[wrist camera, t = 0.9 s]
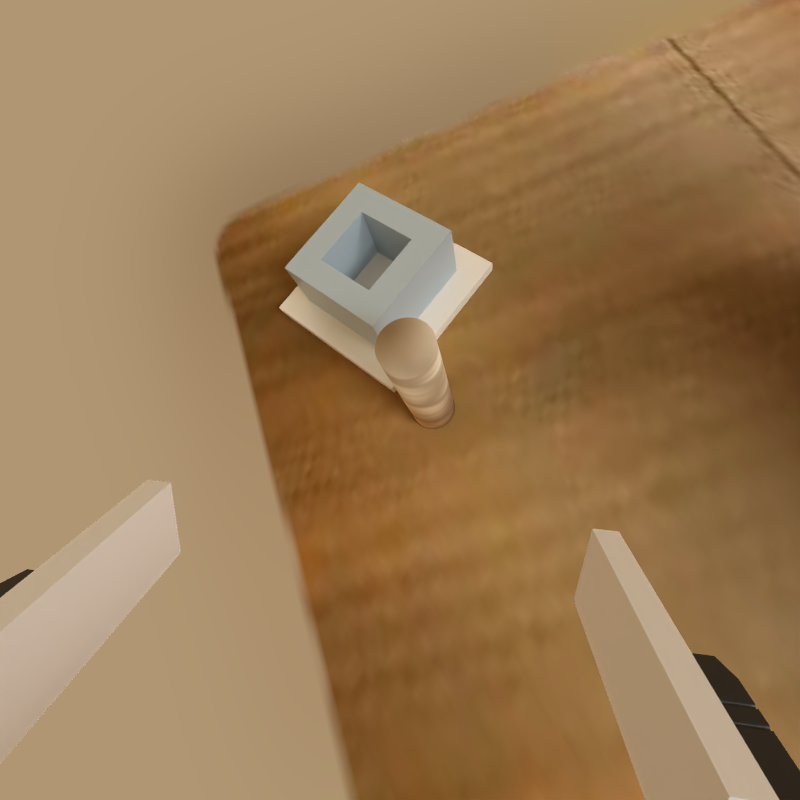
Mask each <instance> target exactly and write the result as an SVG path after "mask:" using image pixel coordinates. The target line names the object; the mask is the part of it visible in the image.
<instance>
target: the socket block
mask: <svg viewBox="0 0 800 800" xmlns="http://www.w3.org/2000/svg"><path fill="white" fill-rule="evenodd" d="M285 269H286V270H287V272H288V273H289V274H290V276H291V277H292V278H293V280H294V281H295V282H296V284H297V285H298V286H297V287H296V288H295V289H294V291H293V292H292V293H291V294H290V295H289V296H288V298H287V299H286V300H285V301H284V302H283V303H282V304H281V306H280V307H279V308H280V309H281V311H282V312H283V313H284V314H286V315H287V316H289V317H290V318H291V319H293V320H294V321H295V322H297V323H298V324H300V325H301V326H302V327H304V328H305V329H307V330H308V331H309V332H311V333H312V334H313V335H315V336H316V337H318V338H319V339H320V340H322V341H323V342H325V343H326V344H327V345H329V346H330V347H331V348H333V349H334V350H336V351H337V352H338V353H340V354H341V355H343V356H344V357H345V358H347V359H348V360H350V361H351V362H352V363H354V364H355V365H356V366H358V367H359V368H361V369H362V370H363V371H365V372H366V373H368V374H369V375H370V376H372V377H373V378H374V379H376V380H377V381H379V382H380V383H381V384H383V385H384V386H386V387H387V388H388V389H390V390H391V391H392V392H394V393H395V392H396V391H397V390H396V388H395V387H394V385H393V384H392V382H391V381H390V379H389V378H388V376H387V374H386V373H385V371H384V370H383V368H382V367H381V365H380V364H379V362H378V360H377V358H376V354H375V343H376V340H377V337H378V335H379V333H380V332H381V331H382V329H383V328H384V327H385V326H386V325H388V324H389V323H391V322H392V321H394V320H397V319H400V318H406V317H411V318H417V319H420V320H422V321H424V322H425V323H427V324H428V325H429V326H430V327H431V328H432V330H433V331H434V333H435V336H436V340H437V339H438V338H439V337H440V335H441V334H442V333H443V332H444V330H445V329H446V328H447V327H448V325H449V324H450V323H451V322H452V320H453V319H454V318H455V317H456V315H457V314H458V313H459V312H460V310H461V309H462V308H463V307H464V305H465V304H466V303H467V302H468V300H469V299H470V298H471V297H472V295H473V294H474V293H475V291H476V290H477V289H478V288H479V286H480V285H481V284H482V283H483V281H484V280H485V279H486V278H487V276H488V275H489V274H490V273H491V271H492V263H491V262H489V261H487V260H485V259H483V258H482V257H480V256H478V255H476V254H474V253H472V252H470V251H468V250H467V249H465V248H463V247H461V246H459V245H457V244H455V243H453V239H452V231H451V230H449V229H447V228H446V227H444V226H442V225H440V224H438V223H436V222H434V221H432V220H430V219H428V218H426V217H424V216H423V215H421V214H419V213H417V212H415V211H413V210H411V209H409V208H407V207H405V206H403V205H401V204H400V203H398V202H396V201H394V200H392V199H390V198H388V197H386V196H384V195H382V194H380V193H378V192H376V191H375V190H373V189H371V188H369V187H367V186H365V185H363V184H361V183H358V184H357V185H356V187H355V188H354V189H353V190H352V191H351V192H350V193H349V195H348V196H347V197H346V198H345V199H344V200H343V201H342V203H341V204H340V205H339V206H338V207H337V208H336V209H335V211H334V212H333V213H332V214H331V215H330V216H329V217H328V219H327V220H326V221H325V222H324V223H323V224H322V225H321V227H320V228H319V229H318V230H317V231H316V232H315V233H314V235H313V236H312V237H311V238H310V239H309V240H308V241H307V243H306V244H305V245H304V246H303V247H302V248H301V249H300V251H299V252H298V253H297V254H296V255H295V256H294V257H293V259H292V260H291V261H290V262H289V263H288V264H287V265H286V267H285Z"/></svg>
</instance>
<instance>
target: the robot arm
mask: <svg viewBox="0 0 800 800" xmlns="http://www.w3.org/2000/svg"><path fill="white" fill-rule="evenodd" d="M180 553H181V550H180V544H179V536H178V529H177V522H176V515H175V508H174V501H173V494H172V488H171V482H165V481H156V480H147V481H146V482H144V483H143V484H142V485H141V486H139V487H138V488H137V489H136V490H134V491H133V492H132V493H131V494H129V495H128V496H127V497H126V498H124V499H123V500H122V501H121V502H119V503H118V504H117V505H116V506H114V507H113V508H112V509H111V510H109V511H108V512H107V513H106V514H104V515H103V516H102V517H101V518H99V519H98V520H97V521H96V522H94V523H93V524H92V525H91V526H90V527H88V528H87V529H86V530H84V531H83V532H82V533H81V534H80V535H78V536H77V537H76V538H74V539H73V540H72V541H71V542H69V543H68V544H67V545H66V546H64V547H63V548H62V549H61V550H59V551H58V552H57V553H56V554H55V555H53V556H52V557H51V558H49V559H48V560H47V561H46V562H45V563H43V564H42V565H41V566H39V567H38V568H37V569H36V570H28V569H27V570H25V571H23V572H21V573H19V574H17V575H15V576H14V577H12V578H10V579H8V580H6V581H4V582H2V583H0V764H1V763H2V761H3V760H4V759H5V758H6V757H7V756H8V755H9V753H10V752H11V751H12V750H13V749H14V747H15V746H16V745H17V744H18V743H19V742H20V740H21V739H22V738H23V737H24V736H25V735H26V733H27V732H28V731H29V730H30V729H31V728H32V726H33V725H34V724H35V723H36V722H37V721H38V719H39V718H40V717H41V716H42V715H43V713H44V712H45V711H46V710H47V709H48V708H49V706H50V705H51V704H52V703H53V702H54V700H55V699H56V698H57V697H58V696H59V695H60V694H61V692H62V691H63V690H64V689H65V688H66V686H67V685H68V684H69V683H70V682H71V681H72V679H73V678H74V677H75V676H76V675H77V674H78V672H79V671H80V670H81V669H82V668H83V666H84V665H85V664H86V663H87V662H88V661H89V659H90V658H91V657H92V656H93V655H94V654H95V652H96V651H97V650H98V649H99V648H100V647H101V645H102V644H103V643H104V642H105V641H106V640H107V638H108V637H109V636H110V635H111V634H112V632H113V631H114V630H115V629H116V628H117V627H118V625H119V624H120V623H121V622H122V621H123V620H124V618H125V617H126V616H127V615H128V614H129V613H130V611H131V610H132V609H133V608H134V607H135V605H136V604H137V603H138V602H139V601H140V600H141V598H142V597H143V596H144V595H145V594H146V593H147V591H148V590H149V589H150V588H151V587H152V585H153V584H154V583H155V582H156V581H157V580H158V578H159V577H160V576H161V575H162V574H163V573H164V571H165V570H166V569H167V568H168V567H169V566H170V564H171V563H172V562H173V561H174V560H175V559H176V557H177V556H178V555H179V554H180ZM574 603H575V605H576V608H577V611H578V614H579V617H580V619H581V622H582V625H583V628H584V631H585V633H586V636H587V639H588V642H589V645H590V647H591V650H592V653H593V656H594V658H595V661H596V664H597V667H598V670H599V672H600V675H601V678H602V681H603V684H604V686H605V689H606V692H607V695H608V698H609V700H610V703H611V706H612V709H613V712H614V714H615V717H616V720H617V723H618V726H619V728H620V731H621V734H622V737H623V740H624V742H625V745H626V748H627V751H628V754H629V756H630V759H631V762H632V765H633V768H634V770H635V773H636V776H637V779H638V782H639V784H640V787H641V790H642V793H643V796H644V798H645V800H800V771H799V769H798V768H797V766H796V765H795V763H794V762H793V760H792V759H791V757H790V756H789V754H788V753H787V751H786V750H785V748H784V747H783V745H782V744H781V742H780V741H779V739H778V738H777V736H776V735H775V733H774V732H773V731H771V730H770V728H769V724H768V723H767V721H766V720H765V718H764V717H763V715H762V714H761V712H760V711H759V709H756V708H755V703H754V702H753V700H752V699H751V697H750V696H749V694H748V693H747V691H746V690H745V688H744V687H743V685H742V684H741V682H740V681H739V679H738V678H737V677H736V676H735V675H734V674H732V673H731V672H730V671H729V670H728V669H727V668H726V667H725V666H724V665H723V664H722V663H721V662H720V661H719V660H718V659H717V658H716V657H715V656H709V655H702V654H694V653H691V651H690V650H689V648H688V646H687V644H686V643H685V641H684V639H683V638H682V636H681V634H680V633H679V631H678V629H677V628H676V626H675V624H674V623H673V621H672V619H671V618H670V616H669V614H668V613H667V611H666V609H665V608H664V606H663V604H662V603H661V601H660V599H659V598H658V596H657V594H656V593H655V591H654V589H653V588H652V586H651V584H650V583H649V581H648V579H647V578H646V576H645V574H644V573H643V571H642V569H641V568H640V566H639V564H638V563H637V561H636V559H635V558H634V556H633V554H632V553H631V551H630V549H629V548H628V546H627V544H626V543H625V541H624V539H623V538H622V536H621V534H620V533H619V531H610V530H601V529H592V532H591V536H590V540H589V543H588V547H587V551H586V555H585V559H584V563H583V566H582V570H581V574H580V578H579V582H578V586H577V589H576V593H575V597H574Z"/></svg>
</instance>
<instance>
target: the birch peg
mask: <svg viewBox="0 0 800 800" xmlns="http://www.w3.org/2000/svg"><path fill="white" fill-rule="evenodd" d="M375 354H376V358H377V360H378V362H379V364H380V365H381V367H382V368H383V370H384V371H385V373H386V374H387V376H388V378H389V379H390V381H391V382H392V384H393V385H394V387H395V388H396V390H397V392H398V393H399V395H400V396H401V398H402V399H403V401H404V402H405V404H406V406H407V407H408V409H409V410H410V412H411V413H412V415H413V416H414V418H415V420H416V421H417V422H418V423H419V424H420V425H422V426H423V427H426V428H430V429H436V428H440V427H443V426H444V425H446V424H447V423H448V422H449V421H450V420H451V419H452V417H453V415H454V411H455V404H454V400H453V397H452V393H451V390H450V386H449V382H448V379H447V375H446V372H445V368H444V365H443V361H442V357H441V354H440V350H439V347H438V343H437V340H436V336H435V333H434V331H433V330H432V328H431V327H430V326H429V325H428V324H427V323H425V322H424V321H422V320H420V319H417V318H411V317H406V318H400V319H397V320H394V321H392V322H391V323H389V324H388V325H386V326H385V327H384V328H383V329H382V331H381V332H380V333H379V335H378V337H377V340H376V343H375Z"/></svg>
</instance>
